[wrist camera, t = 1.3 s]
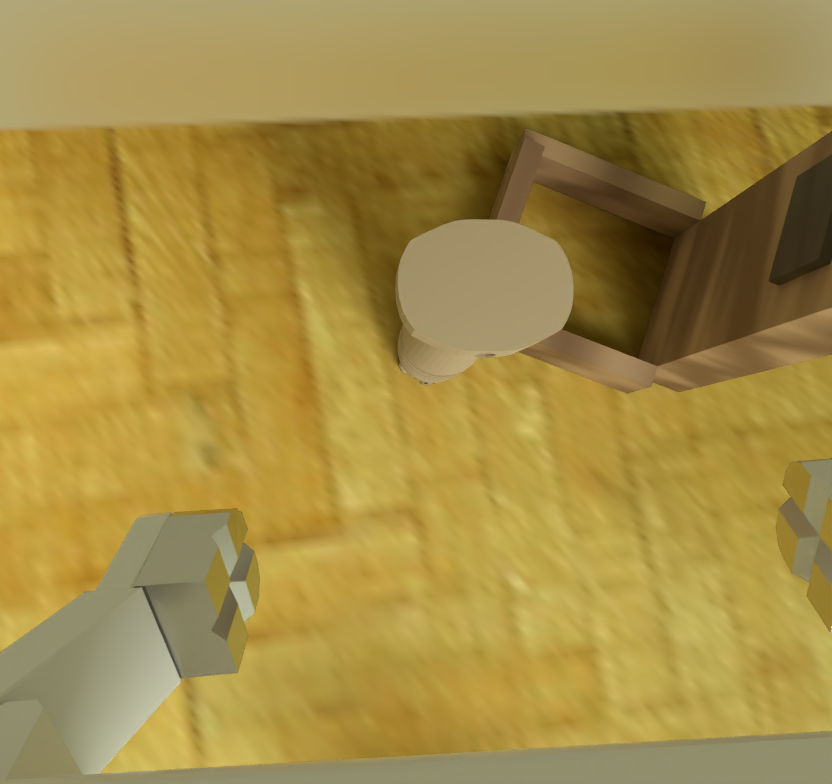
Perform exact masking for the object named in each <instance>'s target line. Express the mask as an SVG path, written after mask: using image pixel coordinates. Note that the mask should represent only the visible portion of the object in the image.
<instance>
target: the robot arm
mask: <svg viewBox="0 0 832 784" xmlns="http://www.w3.org/2000/svg"><path fill="white" fill-rule="evenodd" d="M783 486H784V488H785V489H786V490H787V492H788V493H789V495H790V496H791V497H790V498H789V499H788V500H787V501H786V502H785V503H784V504H783V505H782V506H781V507H780V508H779V509H778V515H777V522H776V533H777V540H778V546H779V549H780V551H781V554H782V557H783V559H784V561H785V563H786V564H787V566H788V567H789V569H790V571H791V572H792V573H793V574H795V575H797V576H798V577H800V578H802V579H804V580H805V581H807V582H809V586H808V591H807V598H808V599H809V601H810V602H811V604H812V605H813V607H814V608H815V610H816V611H817V613H818V614H819V616H820V618H821V619H822V621H823V622H824V624H825V625H826V627H827V628H828V630H829V631H830V633H832V458H830V459H819V460H807V461H796V462H790V464H789V466H788V467H787V469H786V471H785V475H784V480H783ZM247 529H248V528H247V525H246V523H245V520H244V517H243V514H242V512H241V511H239V510H238V509H237V508H232V509H216V510H200V511H184V512H174V513H158V514H145V515H142V516H140V517H139V518H137V519H136V520H135V521H134V523H133V525H132V527H131V528H130V530H129V532H128V534H127V535H126V537H125V539H124V541H123V542H122V544H121V546H120V548H119V550H118V551H117V553H116V555H115V557H114V558H113V560H112V562H111V564H110V566H109V567H108V569H107V571H106V573H105V574H104V576H103V578H102V580H101V581H100V583H99V585H98V587H97V589H96V590H95V591H87V592H84V593H83V594H81V595H80V596H79V597H77V598H76V599H74V600H73V601H72V602H70V603H69V604H67V605H66V606H65V607H63V608H62V609H60V610H59V611H58V612H56V613H55V614H53V615H52V616H51V617H49V618H48V619H46V620H45V621H44V622H42V623H41V624H39V625H38V626H36V627H35V628H34V629H32V630H31V631H29V632H28V633H27V634H25V635H24V636H22V637H21V638H20V639H18V640H17V641H15V642H14V643H13V644H11V645H10V646H8V647H7V648H6V649H4V650H3V651H1V652H0V784H832V731H821V732H804V733H786V734H769V735H752V736H735V737H717V738H700V739H683V740H666V741H648V742H632V743H615V744H598V745H581V746H564V747H547V748H530V749H513V750H496V751H479V752H462V753H445V754H428V755H411V756H394V757H377V758H360V759H343V760H326V761H309V762H292V763H275V764H258V765H241V766H224V767H207V768H190V769H173V770H156V771H139V772H122V773H105V774H99V773H100V772H101V771H102V770H103V769H104V767H105V766H106V765H107V764H108V763H109V762H110V761H111V760H112V759H113V757H114V756H115V755H116V754H117V753H118V752H119V751H120V750H121V748H122V747H123V746H124V745H125V744H126V743H127V742H128V741H129V739H130V738H131V737H132V736H133V735H134V734H135V733H136V732H137V731H138V729H139V728H140V727H141V726H142V725H143V724H144V723H145V722H146V720H147V719H148V718H149V717H150V716H151V715H152V714H153V713H154V712H155V710H156V709H157V708H158V707H159V706H160V705H161V704H162V703H163V701H164V700H165V699H166V698H167V697H168V696H169V695H170V694H171V692H172V691H173V690H174V689H175V688H176V687H177V686H178V685H179V684H180V682H181V679H180V678H190V677H201V676H211V675H221V674H232V673H238V670H239V667H240V663H241V660H242V656H243V653H244V649H245V646H246V642H247V639H248V633H247V630H246V627H245V624H244V622H245V621H246V620H247V619H248V618H249V617H250V616H251V615H253V614H254V613H255V610H256V606H257V602H258V598H259V585H260V575H259V568H258V562H257V558H256V555H255V551H254V550H252V549H251V548H250V547H249V546H247V545H246V544H245V543H243V542H244V539H245V536H246V533H247Z"/></svg>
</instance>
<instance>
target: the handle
mask: <svg viewBox="0 0 832 784" xmlns="http://www.w3.org/2000/svg"><path fill="white" fill-rule="evenodd" d="M395 296H396V304H397V309H398V312H399V316H400V319H401V320H402V322H403V325H402V328H401V330H400V334H399V338H398V356H399V360H400V363H399V368H400V370H401V371H402V373H406V374H409V375H410V376H412V377H413V378H415V379H416V380H419V382H420V384H423V385H432V384H435V383H437V382H442V381H446V380H448V379H450V378H453V377H455V376H457V375H459V374H460V373H462V372H463V371H465V370H466V369H467V368H469V367H470V366H471V365H472V364H473V363H474V362H475V361H476V359H477V358H486V357H500V356H508V355H511V354H514V353H516V352H519V351H521V350H523V349H525V348H527V347H530V346H532V345H534V344H536V343H538V342H540V341H541V340H543V339H545V338H547V337H549V336H551V335H553V334H555V333H556V332H558V331H560V330H561V329H562V328H563V327H564V325H565V323H566V321H567V319H568V317H569V315H570V312H571V309H572V303H573V278H572V271H571V268H570V265H569V261H568V259H567V257H566V255H565V253H564V251H563V250H562V248H561V247H560V245H559V244H558V243H557V241H555V240H553V239H551V238H549V237H547V236H545V235H543V234H541V233H539V232H536V231H534V230H532V229H530V228H528V227H526V226H523V225H520V224H517V223H514V222H511V221H504V220H486V219H467V220H457V221H453V222H450V223H447V224H444V225H442V226H439V227H437V228H435V229H433V230H430V231H428V232H426V233H424V234H422V235H420V236H418V237H416V238H413V239H411V241H410V242H409V244H408V245H407V247H406V248H405V251H404V253H403V255H402V257H401V259H400V262H399V265H398V270H397V274H396V284H395Z"/></svg>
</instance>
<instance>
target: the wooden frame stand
mask: <svg viewBox="0 0 832 784" xmlns="http://www.w3.org/2000/svg"><path fill="white" fill-rule="evenodd" d="M533 182H536V183H538V184H541V185H543V186H545V187H548V188H550V189H553V190H555V191H558V192H560V193H563V194H565V195H568V196H570V197H573V198H575V199H577V200H580V201H582V202H585V203H587V204H590V205H592V206H595V207H597V208H600V209H602V210H605V211H607V212H610V213H612V214H614V215H617V216H619V217H622V218H624V219H627V220H629V221H632V222H634V223H637V224H639V225H642V226H644V227H647V228H649V229H651V230H654V231H656V232H659V233H661V234H664V235H666V236H669V237H671V238H674V241H673V244H672V247H671V251H670V254H669V257H668V261H667V264H666V267H665V271H664V274H663V277H662V281H661V284H660V287H659V291H658V294H657V297H656V301H655V304H654V307H653V310H652V314H651V317H650V320H649V324H648V327H647V330H646V334H645V337H644V340H643V344H642V347H641V350H640V354H639V357H638V359H637V358H635V357H632V356H629V355H627V354H624V353H622V352H619V351H617V350H614V349H611V348H609V347H606V346H604V345H601V344H598V343H596V342H593V341H591V340H588V339H586V338H583V337H580V336H578V335H575V334H573V333H570V332H567V331H565V330H562V329H561V330H560V331H558V332H556V333H555V334H553V335H551V336H549V337H547V338H545V339H543V340H541V341H540V342H538V343H536V344H534V345H532V346H530V347H527V348H525V349H523V350H521V351H519V352H520V353H523V354H526V355H528V356H531V357H534V358H536V359H539V360H541V361H544V362H547V363H549V364H552V365H554V366H557V367H560V368H562V369H565V370H568V371H570V372H573V373H575V374H578V375H581V376H583V377H586V378H589V379H591V380H594V381H596V382H599V383H602V384H604V385H607V386H609V387H612V388H615V389H617V390H620V391H623V392H625V393H631V392H634V391H638V390H641V389H645V388H648V387H651V386H652V383H653V382H654V383H656V384H659V385H662V386H664V387H667V388H669V389H672V390H675V391H677V392H681V391H686V390H690V389H694V388H698V387H702V386H706V385H710V384H714V383H718V382H722V381H726V380H730V379H734V378H738V377H742V376H746V375H751V374H755V373H759V372H763V371H767V370H771V369H775V368H779V367H783V366H787V365H791V364H795V363H799V362H803V361H807V360H811V359H815V358H820V357H824V356H828V355H832V131H831V132H830V133H828V134H827V135H825V136H824V137H822V138H821V139H820V140H818V141H817V142H815V143H814V144H812V145H811V146H809V147H808V148H806V149H805V150H803V151H802V152H800V153H799V154H798V155H796V156H795V157H793V158H792V159H790V160H789V161H787V162H786V163H784V164H783V165H781V166H780V167H778V168H777V169H776V170H774V171H773V172H771V173H770V174H768V175H767V176H765V177H764V178H762V179H761V180H759V181H758V182H756V183H755V184H754V185H752V186H751V187H749V188H748V189H746V190H745V191H743V192H742V193H740V194H739V195H737V196H736V197H735V198H733V199H732V200H730V201H729V202H727V203H726V204H724V205H723V206H721V207H720V208H718V209H717V210H715V211H714V212H713V213H711V214H710V215H708V216H707V217H705V218H704V219H702V220H701V217H702V214H703V211H704V207H705V204H706V202H705V201H702V200H700V199H697V198H695V197H692V196H690V195H688V194H685V193H683V192H680V191H678V190H675V189H673V188H671V187H668V186H666V185H663V184H661V183H659V182H656V181H654V180H651V179H649V178H646V177H644V176H642V175H639V174H637V173H634V172H632V171H629V170H627V169H625V168H622V167H620V166H617V165H615V164H612V163H610V162H608V161H605V160H603V159H600V158H598V157H595V156H593V155H591V154H588V153H586V152H583V151H581V150H578V149H576V148H574V147H571V146H569V145H566V144H564V143H562V142H559V141H557V140H554V139H552V138H549V137H547V136H545V135H542V134H540V133H537V132H535V131H532V130H530V129H528V128H526V129H525V131H524V133H523V134H522V136H521V138H520V139H519V141H518V143H517V145H516V146H515V148H514V150H513V151H512V153H511V156H510V159H509V162H508V165H507V167H506V170H505V173H504V176H503V179H502V182H501V185H500V187H499V190H498V193H497V196H496V199H495V202H494V204H493V207H492V210H491V213H490V216H489V219H488V220H504V221H511V222H514V223H517V224H519V221H520V218H521V215H522V212H523V209H524V207H525V204H526V201H527V198H528V195H529V192H530V189H531V186H532V183H533Z"/></svg>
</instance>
